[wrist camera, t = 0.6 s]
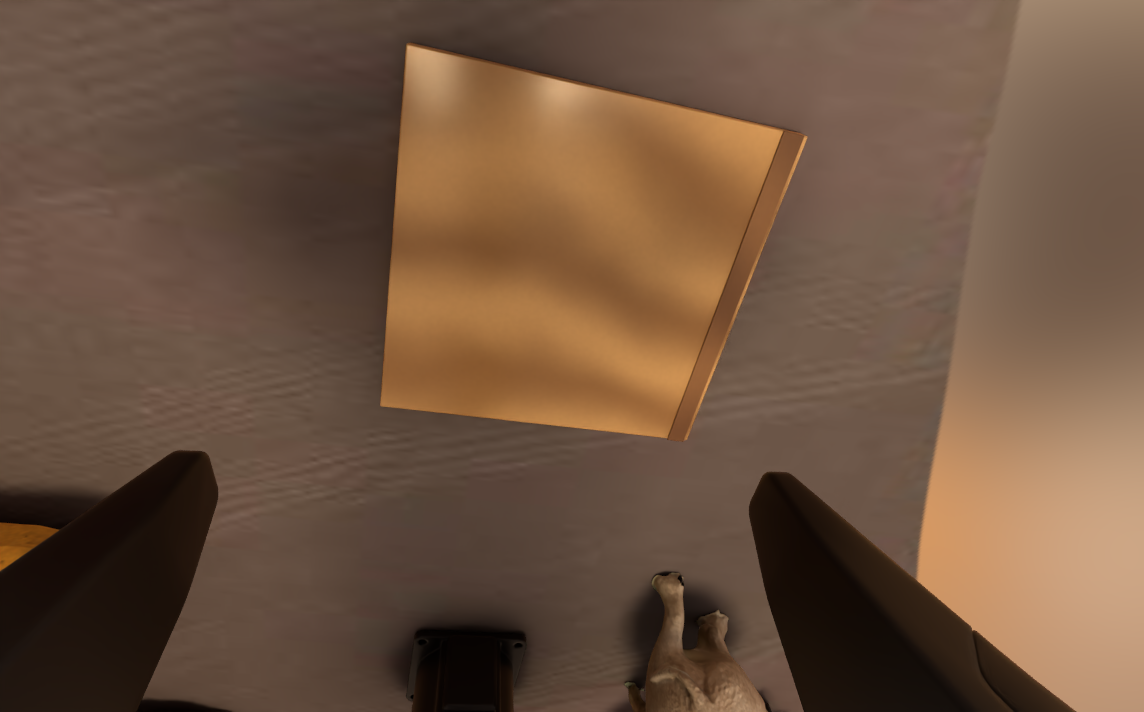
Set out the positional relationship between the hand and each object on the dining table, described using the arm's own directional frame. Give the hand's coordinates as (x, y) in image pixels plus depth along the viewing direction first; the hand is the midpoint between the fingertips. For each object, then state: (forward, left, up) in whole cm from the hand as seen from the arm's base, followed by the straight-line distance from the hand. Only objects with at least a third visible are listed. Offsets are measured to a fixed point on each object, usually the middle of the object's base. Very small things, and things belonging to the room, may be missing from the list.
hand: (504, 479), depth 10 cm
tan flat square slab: (-2, -3, -14) cm, 15 cm away
